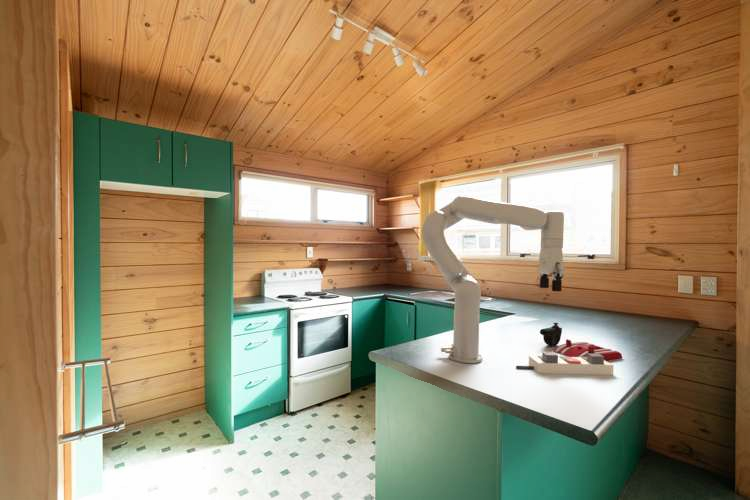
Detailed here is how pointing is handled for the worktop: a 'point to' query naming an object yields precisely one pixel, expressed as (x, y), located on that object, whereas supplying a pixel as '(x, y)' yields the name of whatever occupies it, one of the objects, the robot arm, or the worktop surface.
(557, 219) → the robot arm
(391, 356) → the worktop surface
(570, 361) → the button
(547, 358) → the button
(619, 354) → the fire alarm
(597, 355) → the button
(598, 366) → the button panel
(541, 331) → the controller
